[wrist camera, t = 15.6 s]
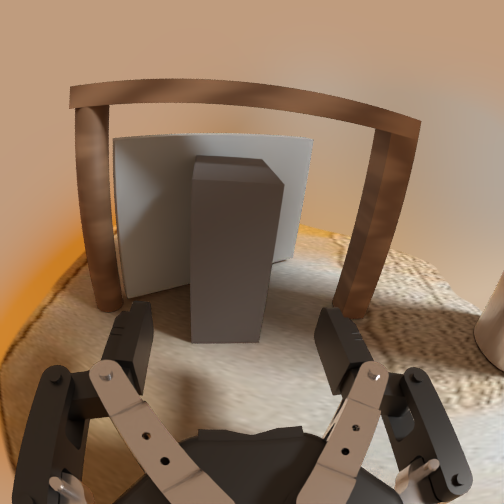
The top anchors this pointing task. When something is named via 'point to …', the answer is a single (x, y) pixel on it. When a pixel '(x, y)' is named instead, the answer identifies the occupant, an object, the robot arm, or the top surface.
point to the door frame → (253, 95)
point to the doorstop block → (231, 246)
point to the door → (189, 198)
